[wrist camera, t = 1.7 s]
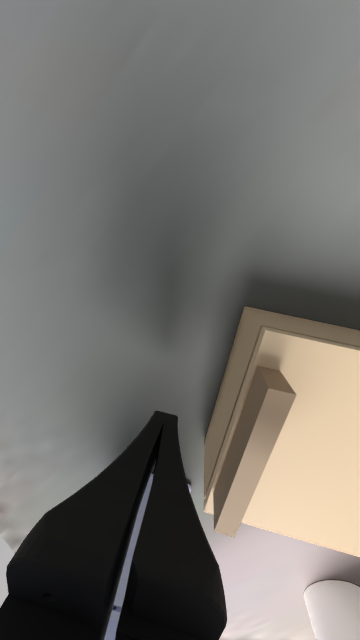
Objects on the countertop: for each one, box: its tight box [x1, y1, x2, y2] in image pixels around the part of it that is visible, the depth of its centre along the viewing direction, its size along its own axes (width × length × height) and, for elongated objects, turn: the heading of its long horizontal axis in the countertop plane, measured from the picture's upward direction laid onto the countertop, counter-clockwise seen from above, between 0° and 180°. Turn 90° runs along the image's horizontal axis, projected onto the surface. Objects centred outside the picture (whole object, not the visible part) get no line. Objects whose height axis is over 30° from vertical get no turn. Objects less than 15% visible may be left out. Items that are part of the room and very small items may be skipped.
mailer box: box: [204, 306, 360, 498], centre depth 15 cm, size 14×16×5 cm
